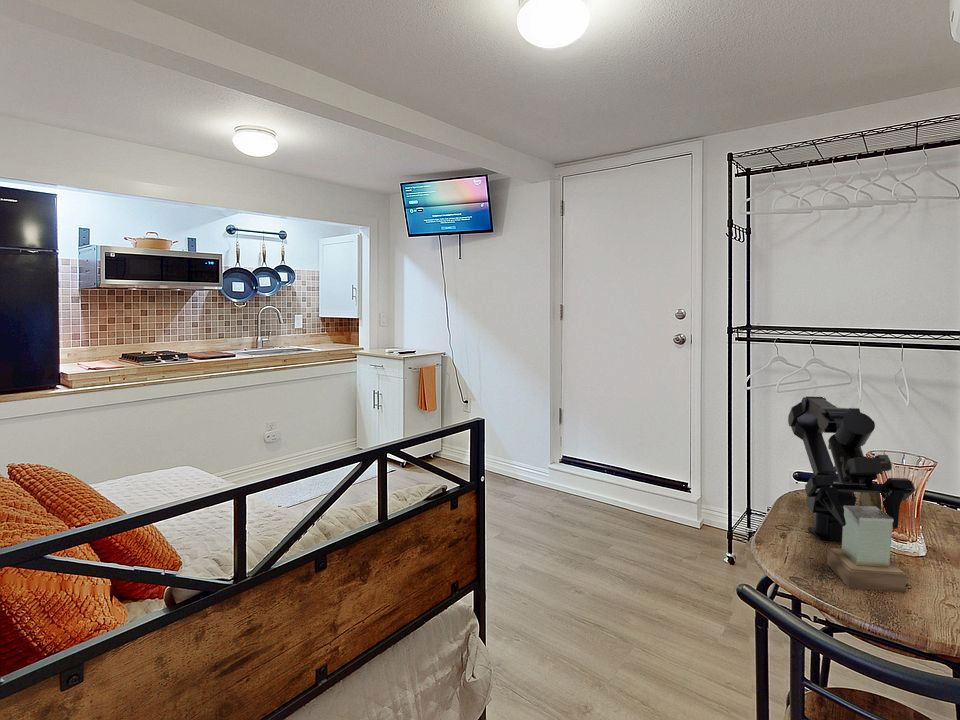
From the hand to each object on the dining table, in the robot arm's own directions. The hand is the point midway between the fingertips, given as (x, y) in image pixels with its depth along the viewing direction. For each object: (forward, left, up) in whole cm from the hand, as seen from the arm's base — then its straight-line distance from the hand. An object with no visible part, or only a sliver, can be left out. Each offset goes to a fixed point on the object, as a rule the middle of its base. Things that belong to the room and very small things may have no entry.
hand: (869, 526), depth 108 cm
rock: (-33, +21, -12) cm, 41 cm away
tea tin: (-2, 0, -8) cm, 8 cm away
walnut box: (-1, 0, -12) cm, 12 cm away
